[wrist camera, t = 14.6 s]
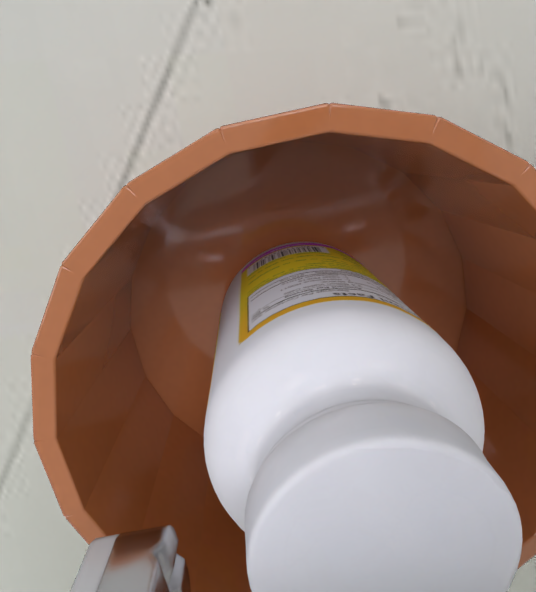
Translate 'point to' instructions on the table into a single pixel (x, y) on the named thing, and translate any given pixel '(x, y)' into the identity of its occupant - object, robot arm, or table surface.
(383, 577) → the supplement bottle
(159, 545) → the robot arm
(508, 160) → the terracotta round pot
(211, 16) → the table surface
